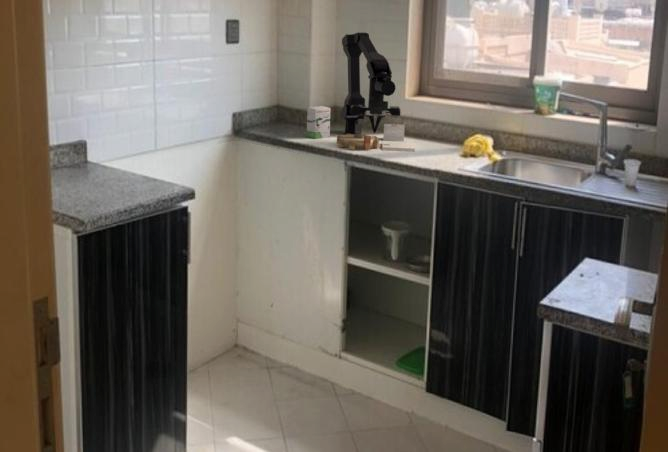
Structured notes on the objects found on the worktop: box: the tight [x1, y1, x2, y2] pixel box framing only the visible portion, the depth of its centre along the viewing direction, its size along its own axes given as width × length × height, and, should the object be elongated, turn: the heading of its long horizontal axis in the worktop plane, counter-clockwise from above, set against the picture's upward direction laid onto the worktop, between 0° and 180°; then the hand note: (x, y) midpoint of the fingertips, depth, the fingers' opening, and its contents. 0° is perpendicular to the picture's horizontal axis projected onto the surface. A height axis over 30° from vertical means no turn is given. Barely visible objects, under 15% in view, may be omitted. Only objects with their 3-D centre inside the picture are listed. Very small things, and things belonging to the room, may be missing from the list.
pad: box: [381, 140, 416, 152], centre depth 322 cm, size 11×12×1 cm
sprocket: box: [336, 123, 380, 151], centre depth 321 cm, size 16×16×7 cm
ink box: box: [306, 105, 331, 140], centre depth 335 cm, size 9×5×12 cm, turn 134°
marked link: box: [382, 123, 405, 142], centre depth 336 cm, size 4×8×6 cm, turn 87°
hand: (374, 132), depth 325 cm, fingers closed
